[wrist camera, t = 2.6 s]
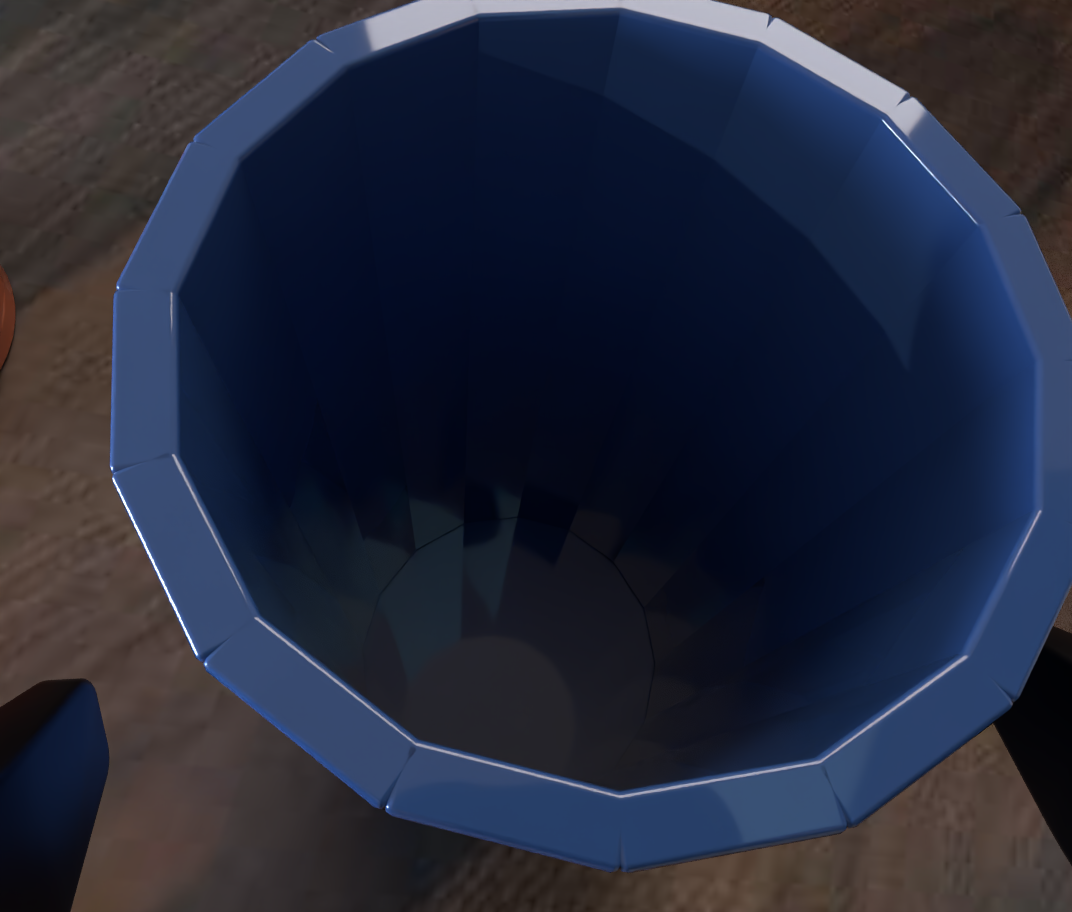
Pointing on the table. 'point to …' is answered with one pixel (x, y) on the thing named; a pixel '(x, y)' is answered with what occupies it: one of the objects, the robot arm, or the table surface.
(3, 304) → the terracotta cup
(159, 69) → the table surface
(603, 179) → the blue cup
